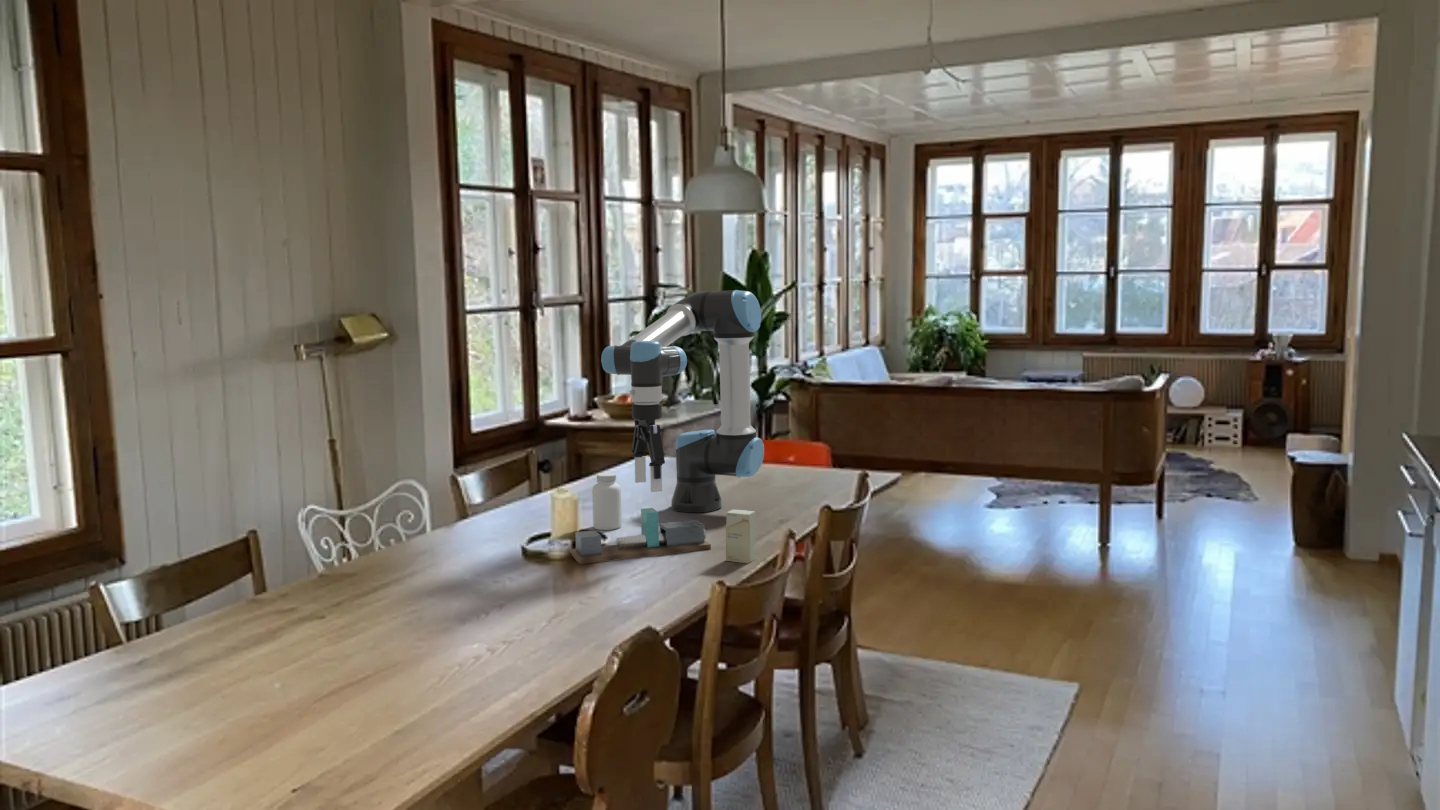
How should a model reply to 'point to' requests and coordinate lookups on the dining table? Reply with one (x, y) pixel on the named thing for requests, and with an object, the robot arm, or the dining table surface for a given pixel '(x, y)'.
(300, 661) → the dining table surface
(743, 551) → the skincare box
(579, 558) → the board
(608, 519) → the pill bottle
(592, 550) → the grey cube
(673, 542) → the sleeve
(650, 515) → the sliding bolt
